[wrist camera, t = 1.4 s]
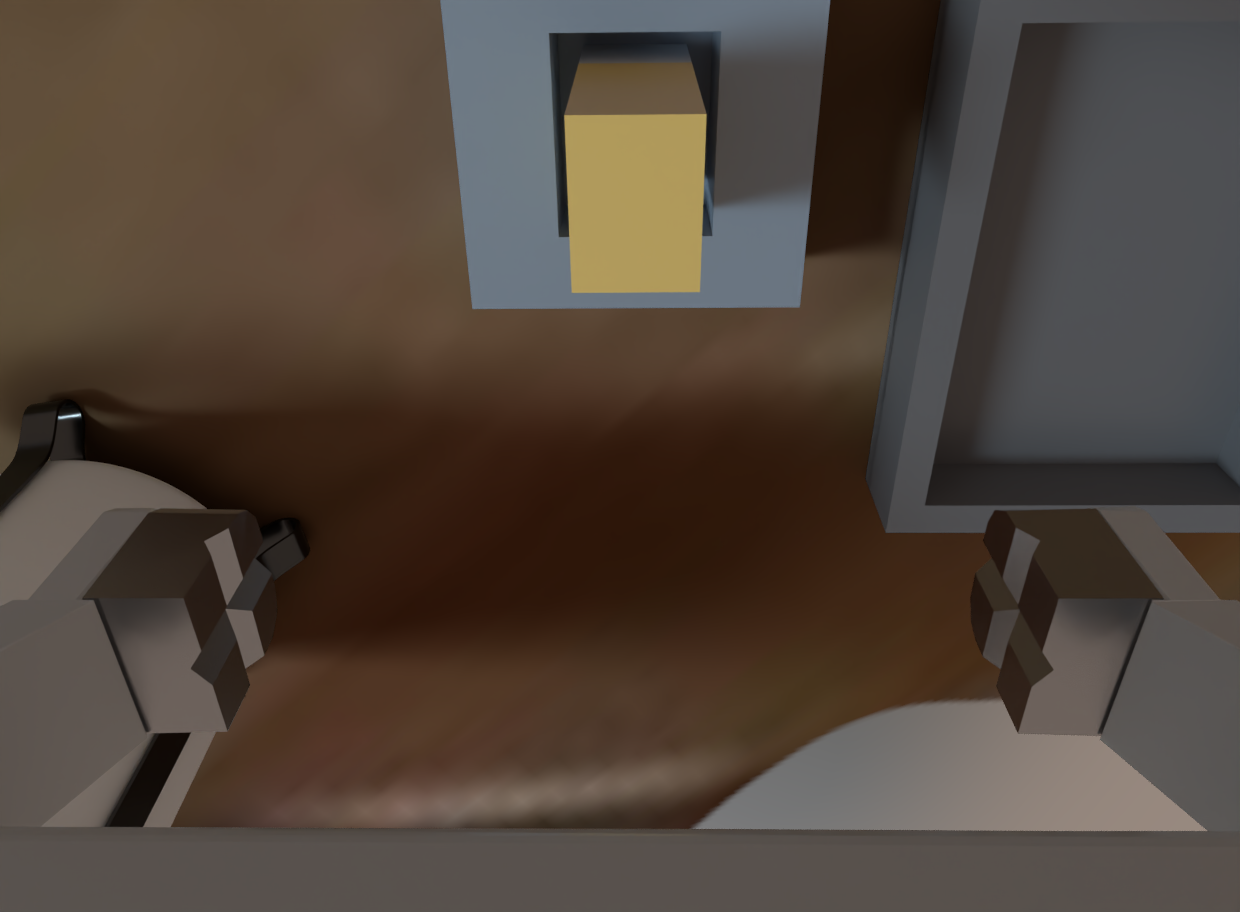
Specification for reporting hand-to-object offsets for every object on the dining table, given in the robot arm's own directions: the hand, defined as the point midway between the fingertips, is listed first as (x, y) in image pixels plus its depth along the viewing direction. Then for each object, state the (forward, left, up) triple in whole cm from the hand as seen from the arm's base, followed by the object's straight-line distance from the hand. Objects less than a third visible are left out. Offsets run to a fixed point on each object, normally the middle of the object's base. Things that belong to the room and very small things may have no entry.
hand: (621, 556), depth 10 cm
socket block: (0, 0, -22) cm, 22 cm away
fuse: (0, 0, -21) cm, 21 cm away
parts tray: (+5, +16, -22) cm, 28 cm away
